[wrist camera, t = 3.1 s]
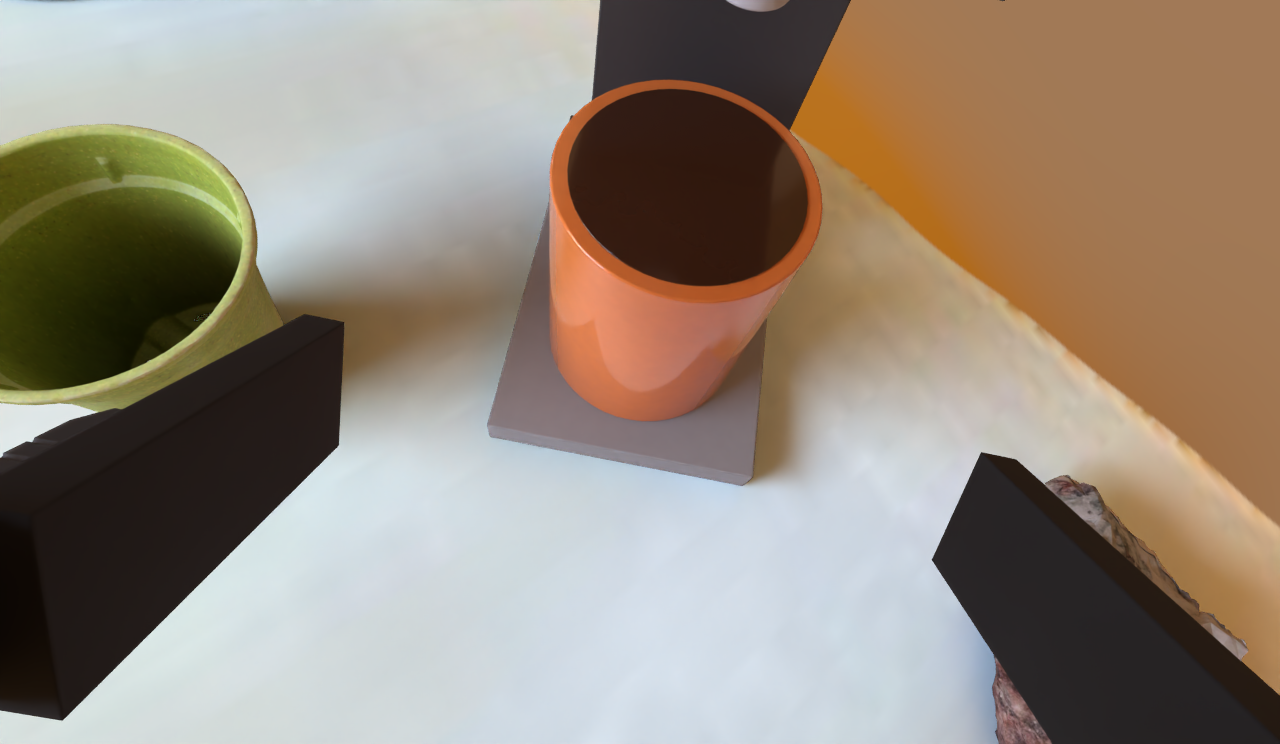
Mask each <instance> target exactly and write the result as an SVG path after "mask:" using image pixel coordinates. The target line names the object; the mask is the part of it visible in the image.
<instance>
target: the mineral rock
mask: <svg viewBox="0 0 1280 744" xmlns="http://www.w3.org/2000/svg"><path fill="white" fill-rule="evenodd" d="M1045 484H1046V485H1045V486H1046V487H1047V488H1049V489H1050V490H1051V491H1052V492H1053V493H1054V494H1055V495H1056V496H1057V497H1059V498H1060V499H1061V500H1062V501H1063V502H1064V503H1065V504H1066V505H1068V506H1069V507H1070V508H1071V509H1072V510H1073V511H1074V512H1075V513H1076V514H1078V515H1079V516H1080V517H1081V518H1082V519H1083V520H1084V521H1085V522H1086V523H1088V524H1089V525H1090V526H1091V527H1092V528H1093V529H1094V530H1095V531H1097V532H1098V533H1099V534H1100V535H1101V536H1102V537H1103V538H1104V539H1105V540H1107V541H1108V542H1109V543H1110V544H1111V545H1112V546H1113V547H1114V548H1116V549H1117V550H1118V551H1119V552H1120V553H1121V554H1122V555H1123V556H1124V557H1126V558H1127V559H1128V560H1129V561H1130V562H1131V563H1132V564H1133V565H1134V566H1136V567H1137V568H1138V569H1139V570H1140V571H1141V572H1142V573H1143V574H1145V575H1146V576H1147V577H1148V578H1149V579H1150V580H1151V581H1152V582H1153V583H1155V584H1156V585H1157V586H1158V587H1159V588H1160V589H1161V590H1162V591H1164V592H1165V593H1166V594H1167V595H1168V596H1169V597H1170V598H1171V599H1172V600H1174V601H1175V602H1176V603H1177V604H1178V605H1179V606H1180V607H1181V608H1182V609H1184V610H1185V611H1186V612H1187V613H1188V614H1189V615H1190V616H1191V617H1193V618H1194V619H1195V620H1196V621H1197V622H1198V623H1199V624H1200V625H1201V626H1203V627H1204V628H1205V629H1206V630H1207V631H1208V632H1209V633H1210V634H1211V635H1213V636H1214V637H1215V638H1216V639H1217V640H1218V641H1219V642H1220V643H1222V644H1223V645H1224V646H1225V647H1226V648H1227V649H1228V650H1229V651H1230V652H1232V653H1233V654H1234V655H1235V656H1236V657H1237V658H1238V659H1239V660H1241V659H1242V658H1243V656H1244V655H1245V654H1246V653H1247V652H1248V649H1247V647H1246V643H1245V641H1244V640H1242V639H1239V638H1237V637H1235V636H1233V635H1232V633H1231V632H1230V631H1229V630H1227V629H1226V628H1225V626H1224V625H1222V624H1220V623H1219V622H1218V621H1217V620H1216V618H1215V616H1214V615H1213V614H1209V613H1205V612H1199V604H1198V603H1197V601H1196V600H1194V599H1191V598H1190V596H1189V594H1188V593H1187V592H1185V591H1183V590H1181V589H1180V588H1179V587H1178V585H1177V584H1176V582H1175V581H1174V579H1173V578H1172V577H1171V576H1170V574H1169V573H1168V572H1167V571H1166V569H1165V568H1164V567H1163V566H1162V564H1161V563H1160V561H1159V559H1158V557H1157V556H1156V554H1155V552H1154V551H1152V550H1150V549H1149V548H1148V547H1147V546H1146V544H1145V543H1144V542H1143V541H1142V540H1140V539H1138V538H1137V537H1135V536H1134V535H1132V534H1131V533H1130V532H1129V531H1128V529H1127V528H1126V527H1125V526H1124V525H1123V524H1122V523H1121V521H1120V519H1119V518H1118V517H1117V516H1116V515H1115V514H1114V513H1113V512H1112V510H1111V509H1110V508H1109V507H1107V506H1106V505H1105V504H1104V502H1103V500H1102V498H1101V495H1100V493H1099V492H1098V490H1097V489H1096V487H1094V486H1091V485H1088V484H1085V483H1081V484H1080V483H1078V482H1077V481H1074V480H1072V479H1071V478H1070V476H1068V475H1065V476H1064V475H1063V476H1059V477H1057V478H1054V479H1052V480H1050V481H1048V482H1046V483H1045ZM994 658H995V663H996V676H995V680H994V683H993V686H992V690H993V696H994V698H995V705H996V718H997V730H996V731H995V732H996V735H997V739H998V742H999V744H1052V742H1051V741H1050V739H1049V738H1048V736H1047V735H1046V733H1045V732H1044V730H1043V729H1042V727H1041V726H1040V724H1039V723H1038V721H1037V719H1036V718H1035V716H1034V715H1033V713H1032V712H1031V710H1030V709H1029V707H1028V706H1027V704H1026V703H1025V701H1024V700H1023V698H1022V697H1021V695H1020V694H1019V692H1018V690H1017V689H1016V687H1015V686H1014V684H1013V683H1012V681H1011V680H1010V678H1009V677H1008V675H1007V674H1006V672H1005V671H1004V669H1003V668H1002V666H1001V665H1000V663H999V662H998V660H997V658H996V657H995V655H994Z"/></svg>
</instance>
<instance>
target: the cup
mask: <svg viewBox="0 0 1280 744" xmlns="http://www.w3.org/2000/svg"><path fill="white" fill-rule="evenodd" d="M821 219H822V194H821V189H820V185H819V180H818V177H817V175H816V172H815V169H814V167H813V165H812V163H811V161H810V159H809V157H808V155H807V153H806V152H805V150H804V149H803V147H802V146H801V144H800V143H799V142H798V140H797V139H796V138H795V137H794V136H793V135H792V133H791V132H790V131H789V130H788V129H787V128H786V127H785V126H784V125H783V124H782V123H781V122H779V121H778V120H777V119H776V118H775V117H774V116H772V115H771V114H770V113H768V112H767V111H765V110H764V109H763V108H761V107H759V106H758V105H756V104H754V103H753V102H751V101H749V100H748V99H745V98H743V97H741V96H739V95H737V94H735V93H732V92H730V91H727V90H724V89H722V88H719V87H715V86H711V85H707V84H704V83H698V82H692V81H686V80H671V79H667V80H650V81H642V82H636V83H632V84H628V85H624V86H621V87H619V88H616V89H613V90H611V91H608V92H606V93H604V94H602V95H601V96H599V97H597V98H595V99H594V100H592V101H591V102H589V103H588V104H587V105H585V106H584V107H583V108H582V109H581V110H579V111H578V112H577V113H576V114H575V115H574V116H573V117H572V119H571V120H570V121H569V123H568V124H567V125H566V126H565V128H564V129H563V131H562V133H561V135H560V137H559V138H558V140H557V142H556V145H555V148H554V151H553V154H552V159H551V165H550V213H549V342H550V348H551V352H552V355H553V358H554V361H555V363H556V365H557V367H558V370H559V372H560V373H561V375H562V376H563V378H564V379H565V381H566V382H567V383H568V384H569V386H570V387H571V388H572V389H573V390H574V391H575V392H576V393H577V394H578V395H579V396H580V397H582V398H583V399H584V400H585V401H587V402H588V403H590V404H591V405H593V406H594V407H596V408H598V409H600V410H602V411H604V412H606V413H608V414H611V415H614V416H616V417H620V418H624V419H629V420H636V421H660V420H667V419H671V418H675V417H678V416H681V415H684V414H686V413H688V412H691V411H693V410H694V409H696V408H698V407H699V406H701V405H702V404H703V403H705V402H706V401H707V400H708V399H710V398H711V397H712V396H713V395H714V393H715V392H716V391H717V390H718V389H719V387H720V386H721V385H722V383H723V382H724V380H725V379H726V377H727V376H728V374H729V373H730V371H731V370H732V368H733V367H734V365H735V364H736V362H737V361H738V359H739V358H740V356H741V355H742V353H743V352H744V350H745V349H746V347H747V346H748V344H749V343H750V341H751V340H752V338H753V337H754V335H755V334H756V332H757V331H758V329H759V328H760V326H761V325H762V323H763V322H764V320H765V319H766V317H767V316H768V314H769V313H770V311H771V310H772V309H773V307H774V306H775V304H776V303H777V301H778V300H779V298H780V297H781V295H782V294H783V292H784V291H785V289H786V288H787V286H788V285H789V283H790V282H791V280H792V279H793V277H794V276H795V274H796V273H797V271H798V270H799V268H800V267H801V265H802V264H803V262H804V261H805V259H806V258H807V256H808V255H809V253H810V252H811V250H812V248H813V246H814V244H815V241H816V239H817V237H818V233H819V229H820V226H821Z"/></svg>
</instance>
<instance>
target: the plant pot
mask: <svg viewBox="0 0 1280 744" xmlns="http://www.w3.org/2000/svg"><path fill="white" fill-rule="evenodd" d="M256 256H257V230H256V224H255V219H254V215H253V212H252V209H251V207H250V204H249V202H248V199H247V197H246V195H245V193H244V191H243V189H242V188H241V186H240V184H239V183H238V182H237V180H236V179H235V177H234V176H233V175H232V174H231V173H230V171H229V170H228V169H227V168H226V167H225V166H224V165H223V164H222V163H220V162H219V161H218V160H217V159H215V158H214V157H213V156H212V155H210V154H209V153H208V152H206V151H204V150H203V149H202V148H200V147H199V146H196V145H194V144H192V143H190V142H188V141H186V140H184V139H182V138H179V137H177V136H174V135H171V134H168V133H164V132H160V131H156V130H152V129H147V128H141V127H135V126H129V125H118V124H95V125H80V126H68V127H62V128H57V129H51V130H47V131H43V132H40V133H36V134H32V135H29V136H25V137H22V138H19V139H16V140H13V141H11V142H9V143H6V144H3V145H0V403H7V404H18V405H44V404H57V403H63V404H74V405H77V406H81V407H84V408H87V409H90V410H94V411H97V412H102V411H105V410H109V409H113V408H118V409H124V408H126V407H127V406H129V405H131V404H133V403H135V402H137V401H139V400H141V399H143V398H145V397H147V396H149V395H151V394H152V393H154V392H156V391H158V390H160V389H162V388H164V387H166V386H168V385H170V384H172V383H174V382H175V381H177V380H179V379H181V378H183V377H185V376H187V375H189V374H191V373H193V372H195V371H197V370H199V369H200V368H202V367H204V366H206V365H208V364H210V363H212V362H214V361H216V360H218V359H220V358H222V357H224V356H225V355H227V354H229V353H231V352H233V351H235V350H237V349H239V348H241V347H243V346H245V345H247V344H248V343H250V342H252V341H254V340H256V339H258V338H260V337H262V336H264V335H266V334H268V333H270V332H272V331H273V330H275V329H277V328H279V327H281V326H283V325H284V324H283V322H282V320H281V318H280V316H279V314H278V312H277V310H276V308H275V305H274V303H273V301H272V299H271V297H270V295H269V292H268V290H267V288H266V286H265V284H264V281H263V279H262V277H261V274H260V272H259V270H258V268H257V265H256ZM207 313H211V315H210V316H209V317H208V318H207V319H206V320H205V319H204V320H201V321H196V322H195V321H194V320H195V319H196V317H198V316H199V315H203V314H207ZM148 360H150V361H149V362H147V361H148Z"/></svg>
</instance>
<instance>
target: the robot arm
mask: <svg viewBox="0 0 1280 744" xmlns="http://www.w3.org/2000/svg"><path fill="white" fill-rule="evenodd" d="M343 342H344V322H341V321H336V320H331V319H326V318H321V317H316V316H311V315H307V314H304V315H302V316H300V317H298V318H296V319H295V320H293V321H291V322H289V323H287V324H285V325H283V326H281V327H279V328H277V329H275V330H273V331H272V332H270V333H268V334H266V335H264V336H262V337H260V338H258V339H256V340H254V341H252V342H250V343H248V344H247V345H245V346H243V347H241V348H239V349H237V350H235V351H233V352H231V353H229V354H227V355H225V356H224V357H222V358H220V359H218V360H216V361H214V362H212V363H210V364H208V365H206V366H204V367H202V368H200V369H199V370H197V371H195V372H193V373H191V374H189V375H187V376H185V377H183V378H181V379H179V380H177V381H175V382H174V383H172V384H170V385H168V386H166V387H164V388H162V389H160V390H158V391H156V392H154V393H152V394H151V395H149V396H147V397H145V398H143V399H141V400H139V401H137V402H135V403H133V404H131V405H129V406H127V407H126V408H124V409H118V408H113V409H109V410H105V411H102V412H98V413H94V414H91V415H87V416H83V417H80V418H76V419H72V420H69V421H67V422H65V423H63V424H61V425H59V426H57V427H55V428H53V429H51V430H49V431H47V432H45V433H43V434H41V435H39V436H37V437H35V438H34V441H33V442H25V443H23V444H21V445H19V446H17V447H15V448H13V449H11V450H9V451H6V452H4V453H3V456H2V457H1V458H0V710H1V711H7V712H13V713H19V714H25V715H32V716H38V717H44V718H50V719H56V720H62V721H63V720H64V719H65V718H66V717H67V716H68V715H69V714H70V713H71V712H72V711H73V710H74V709H75V708H76V707H77V706H78V705H79V704H80V703H81V702H82V701H83V700H84V699H85V698H86V697H87V696H88V695H89V694H90V693H91V692H92V691H93V690H94V689H95V688H96V687H97V686H98V685H99V684H100V683H101V682H102V681H103V680H104V679H105V678H106V677H107V676H108V675H109V674H110V673H111V672H112V671H113V670H114V669H115V668H116V667H117V666H118V665H119V664H120V663H121V662H122V661H123V660H124V659H125V658H126V657H127V656H128V655H129V654H130V653H131V652H132V651H133V650H134V649H135V648H136V647H137V646H138V645H139V644H140V643H141V642H142V641H143V640H144V639H145V638H146V637H147V636H148V635H149V634H150V633H151V632H152V631H153V630H154V629H155V628H156V627H157V626H158V625H159V624H160V623H161V622H162V621H163V620H164V619H165V618H166V617H167V616H168V615H169V614H170V613H171V612H172V611H173V610H174V609H175V608H176V607H177V606H178V605H179V604H180V603H181V602H182V601H183V600H184V599H185V598H186V597H187V596H188V595H189V594H190V593H191V592H192V591H193V590H194V589H195V588H196V587H197V586H198V585H199V584H200V583H201V582H202V581H203V580H204V579H205V578H206V577H207V576H208V575H209V574H210V573H211V572H212V571H213V570H214V569H215V568H216V567H217V566H218V565H219V564H220V563H221V562H222V561H223V560H224V559H225V558H226V557H227V556H228V555H229V554H230V553H231V552H232V551H233V550H234V549H235V548H236V547H237V546H238V545H239V544H240V543H241V542H242V541H243V540H244V539H245V538H246V537H247V536H248V535H249V534H250V533H251V532H252V531H253V530H254V529H255V528H256V527H257V526H258V525H259V524H260V523H261V522H262V521H263V520H264V519H265V518H266V517H267V516H268V515H269V514H270V513H271V512H272V511H273V510H274V509H275V508H276V507H277V506H278V505H279V504H280V503H281V502H282V501H283V500H284V499H285V498H286V497H287V496H289V495H290V494H291V493H292V492H293V491H294V490H295V489H296V488H297V487H298V486H299V485H300V484H301V483H302V482H303V481H304V480H305V479H306V478H307V477H308V476H309V475H310V474H311V473H312V472H313V471H314V470H315V469H316V468H317V467H318V466H319V465H320V464H321V463H322V462H323V461H324V460H325V459H326V458H327V457H328V456H329V455H330V454H331V453H332V452H333V451H334V450H335V449H336V448H337V447H338V446H339V429H340V407H341V385H342V364H343ZM932 561H933V562H934V564H935V565H936V567H937V569H938V570H939V572H940V573H941V575H942V576H943V578H944V579H945V581H946V582H947V584H948V585H949V587H950V588H951V590H952V591H953V593H954V594H955V596H956V597H957V599H958V601H959V602H960V604H961V605H962V607H963V608H964V610H965V611H966V613H967V614H968V616H969V617H970V619H971V620H972V622H973V623H974V625H975V626H976V628H977V630H978V631H979V633H980V634H981V636H982V637H983V639H984V640H985V642H986V643H987V645H988V646H989V648H990V649H991V651H992V652H993V654H994V655H995V657H996V658H997V660H998V662H999V663H1000V665H1001V666H1002V668H1003V669H1004V671H1005V672H1006V674H1007V675H1008V677H1009V678H1010V680H1011V681H1012V683H1013V684H1014V686H1015V687H1016V689H1017V690H1018V692H1019V694H1020V695H1021V697H1022V698H1023V700H1024V701H1025V703H1026V704H1027V706H1028V707H1029V709H1030V710H1031V712H1032V713H1033V715H1034V716H1035V718H1036V719H1037V721H1038V723H1039V724H1040V726H1041V727H1042V729H1043V730H1044V732H1045V733H1046V735H1047V736H1048V738H1049V739H1050V741H1051V742H1052V744H1280V695H1278V694H1277V693H1276V692H1275V691H1274V690H1273V689H1272V688H1271V687H1270V686H1268V685H1267V684H1266V683H1265V682H1264V681H1263V680H1262V679H1261V678H1259V677H1258V676H1257V675H1256V674H1255V673H1254V672H1253V671H1252V670H1251V669H1249V668H1248V667H1247V666H1246V665H1245V664H1244V663H1243V662H1242V661H1241V660H1239V659H1238V658H1237V657H1236V656H1235V655H1234V654H1233V653H1232V652H1230V651H1229V650H1228V649H1227V648H1226V647H1225V646H1224V645H1223V644H1222V643H1220V642H1219V641H1218V640H1217V639H1216V638H1215V637H1214V636H1213V635H1211V634H1210V633H1209V632H1208V631H1207V630H1206V629H1205V628H1204V627H1203V626H1201V625H1200V624H1199V623H1198V622H1197V621H1196V620H1195V619H1194V618H1193V617H1191V616H1190V615H1189V614H1188V613H1187V612H1186V611H1185V610H1184V609H1182V608H1181V607H1180V606H1179V605H1178V604H1177V603H1176V602H1175V601H1174V600H1172V599H1171V598H1170V597H1169V596H1168V595H1167V594H1166V593H1165V592H1164V591H1162V590H1161V589H1160V588H1159V587H1158V586H1157V585H1156V584H1155V583H1153V582H1152V581H1151V580H1150V579H1149V578H1148V577H1147V576H1146V575H1145V574H1143V573H1142V572H1141V571H1140V570H1139V569H1138V568H1137V567H1136V566H1134V565H1133V564H1132V563H1131V562H1130V561H1129V560H1128V559H1127V558H1126V557H1124V556H1123V555H1122V554H1121V553H1120V552H1119V551H1118V550H1117V549H1116V548H1114V547H1113V546H1112V545H1111V544H1110V543H1109V542H1108V541H1107V540H1105V539H1104V538H1103V537H1102V536H1101V535H1100V534H1099V533H1098V532H1097V531H1095V530H1094V529H1093V528H1092V527H1091V526H1090V525H1089V524H1088V523H1086V522H1085V521H1084V520H1083V519H1082V518H1081V517H1080V516H1079V515H1078V514H1076V513H1075V512H1074V511H1073V510H1072V509H1071V508H1070V507H1069V506H1068V505H1066V504H1065V503H1064V502H1063V501H1062V500H1061V499H1060V498H1059V497H1057V496H1056V495H1055V494H1054V493H1053V492H1052V491H1051V490H1050V489H1049V488H1047V487H1046V486H1045V485H1044V484H1043V483H1042V482H1041V481H1040V480H1038V479H1037V478H1036V477H1035V476H1034V475H1033V474H1032V473H1031V472H1030V471H1028V470H1027V469H1026V468H1025V467H1024V466H1023V465H1022V464H1021V463H1020V462H1018V461H1017V460H1016V459H1011V458H1007V457H1002V456H997V455H992V454H987V453H982V452H981V454H980V456H979V458H978V460H977V463H976V465H975V467H974V469H973V471H972V474H971V476H970V478H969V480H968V482H967V484H966V487H965V489H964V491H963V493H962V495H961V498H960V500H959V502H958V504H957V506H956V508H955V511H954V513H953V515H952V517H951V519H950V522H949V524H948V526H947V528H946V530H945V532H944V535H943V537H942V539H941V541H940V543H939V546H938V548H937V550H936V552H935V554H934V556H933V559H932Z"/></svg>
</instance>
